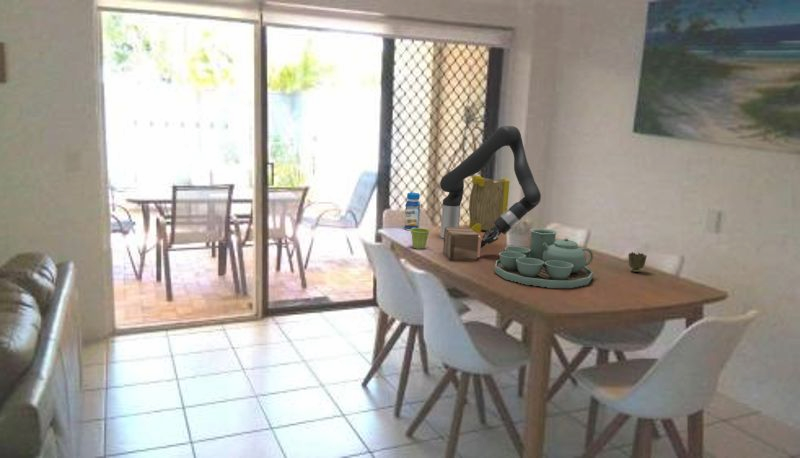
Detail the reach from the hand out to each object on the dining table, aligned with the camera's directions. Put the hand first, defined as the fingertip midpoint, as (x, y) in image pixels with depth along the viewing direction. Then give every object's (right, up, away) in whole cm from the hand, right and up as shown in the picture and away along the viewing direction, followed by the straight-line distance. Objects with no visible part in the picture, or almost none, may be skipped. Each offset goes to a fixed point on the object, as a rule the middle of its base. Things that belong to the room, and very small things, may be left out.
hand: (478, 247), depth 282 cm
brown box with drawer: (-9, -4, 0) cm, 10 cm away
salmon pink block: (-5, -3, 0) cm, 6 cm away
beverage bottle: (-29, +8, +57) cm, 65 cm away
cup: (+67, -10, -14) cm, 69 cm away
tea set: (+23, -11, -26) cm, 37 cm away
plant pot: (-27, -1, +14) cm, 30 cm away
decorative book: (+13, +7, +64) cm, 66 cm away
